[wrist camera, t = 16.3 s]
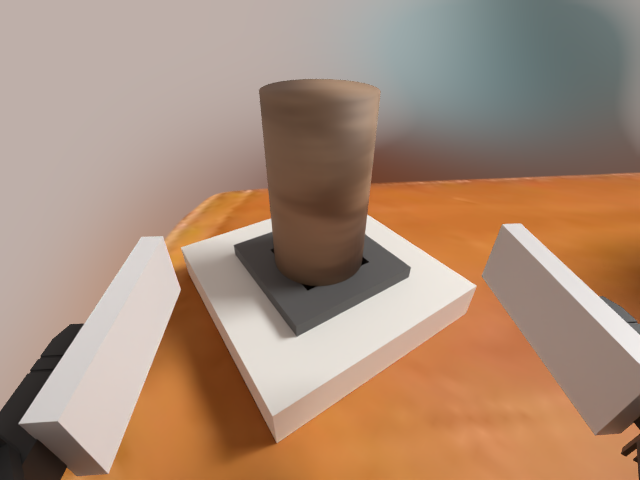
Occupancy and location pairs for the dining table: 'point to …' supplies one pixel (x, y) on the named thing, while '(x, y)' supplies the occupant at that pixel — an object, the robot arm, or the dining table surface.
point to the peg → (319, 175)
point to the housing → (320, 317)
